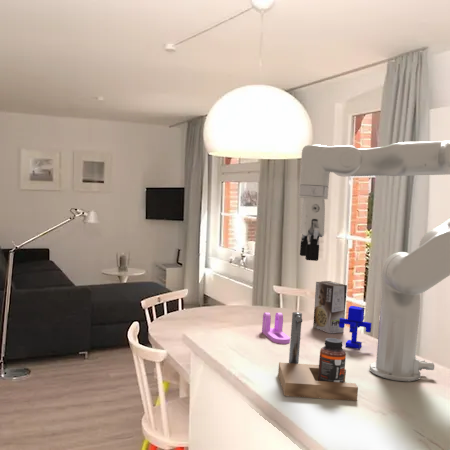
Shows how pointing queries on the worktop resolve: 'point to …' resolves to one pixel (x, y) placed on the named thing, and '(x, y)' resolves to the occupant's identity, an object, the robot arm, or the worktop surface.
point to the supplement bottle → (332, 361)
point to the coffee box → (329, 306)
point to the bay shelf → (312, 383)
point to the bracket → (274, 329)
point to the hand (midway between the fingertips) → (308, 258)
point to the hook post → (295, 337)
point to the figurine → (355, 325)
